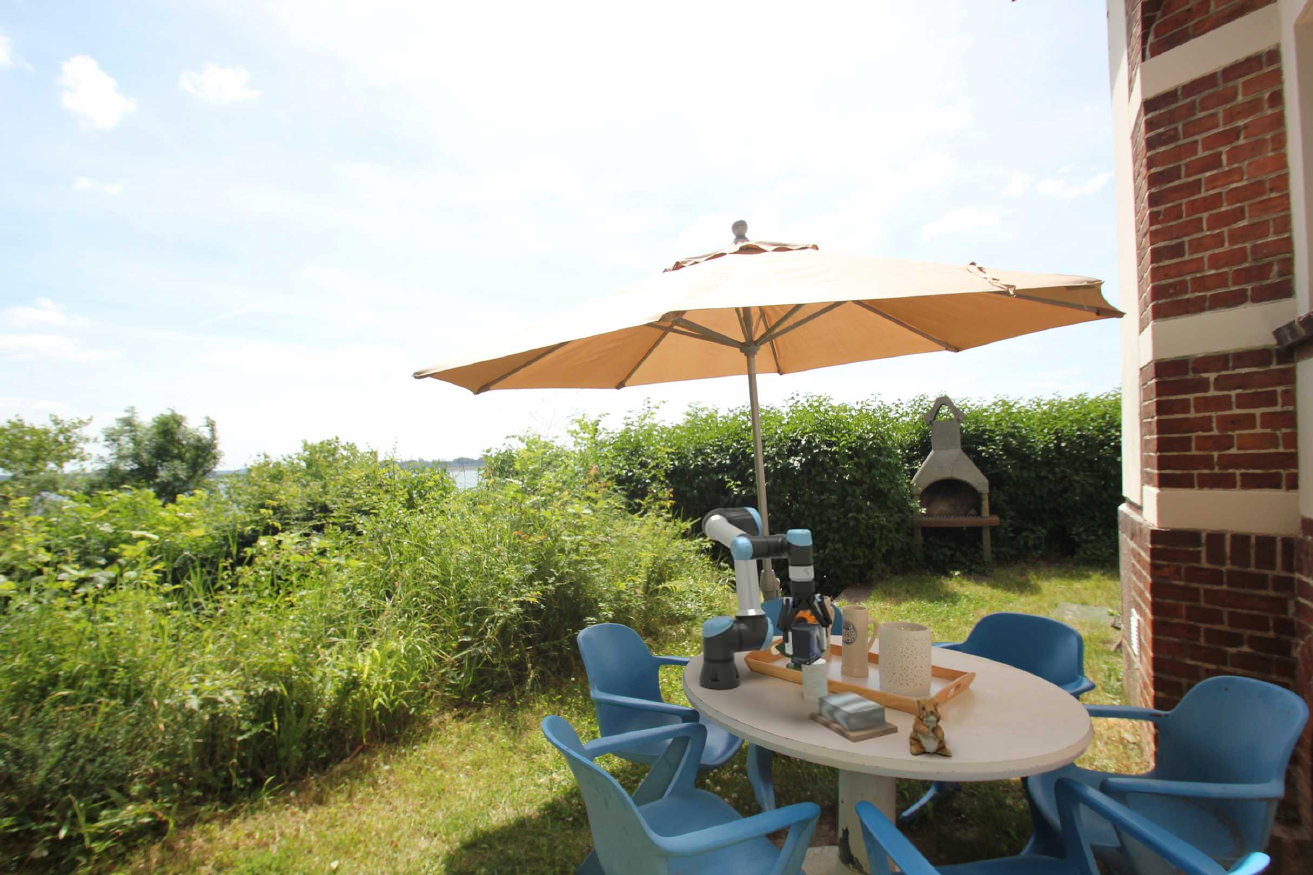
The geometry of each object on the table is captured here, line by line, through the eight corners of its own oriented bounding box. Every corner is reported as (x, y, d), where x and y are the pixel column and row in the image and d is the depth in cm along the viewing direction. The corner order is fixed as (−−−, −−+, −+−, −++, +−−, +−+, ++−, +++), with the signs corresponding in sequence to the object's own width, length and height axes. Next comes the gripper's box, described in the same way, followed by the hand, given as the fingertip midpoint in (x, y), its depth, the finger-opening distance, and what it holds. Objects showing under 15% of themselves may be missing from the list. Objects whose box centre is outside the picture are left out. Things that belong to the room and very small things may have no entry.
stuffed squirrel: (911, 756, 151) (907, 704, 152) (904, 734, 165) (901, 686, 166) (953, 760, 148) (949, 706, 150) (943, 737, 162) (939, 689, 163)
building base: (809, 717, 179) (808, 695, 180) (850, 708, 185) (849, 687, 186) (853, 741, 161) (851, 717, 161) (897, 731, 167) (896, 708, 167)
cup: (800, 699, 195) (798, 662, 196) (806, 691, 202) (804, 656, 204) (825, 702, 191) (823, 665, 193) (830, 694, 198) (828, 658, 200)
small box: (811, 666, 171) (809, 629, 173) (790, 663, 175) (788, 627, 176) (822, 657, 180) (820, 623, 181) (802, 655, 184) (800, 621, 185)
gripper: (775, 583, 173) (779, 658, 170) (841, 577, 181) (846, 649, 179) (762, 580, 180) (766, 652, 177) (826, 575, 188) (831, 643, 186)
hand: (806, 651), depth 178 cm, fingers closed on small box, 12 cm apart
